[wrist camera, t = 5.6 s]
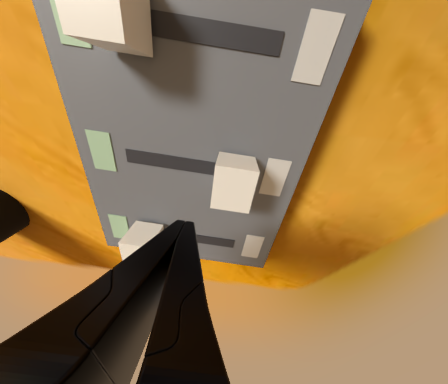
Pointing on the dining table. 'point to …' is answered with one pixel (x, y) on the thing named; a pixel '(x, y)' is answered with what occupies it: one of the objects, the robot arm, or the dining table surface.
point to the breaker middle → (234, 182)
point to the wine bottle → (11, 216)
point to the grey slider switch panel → (204, 111)
